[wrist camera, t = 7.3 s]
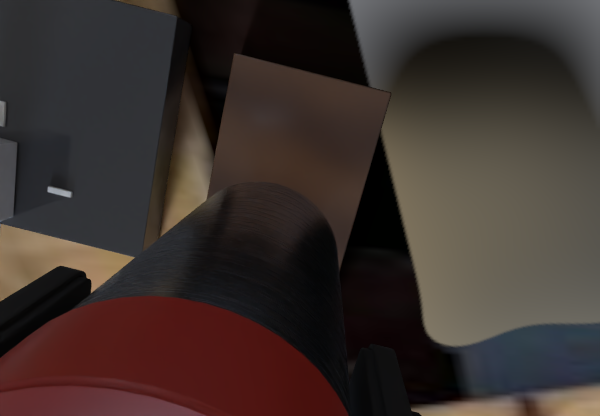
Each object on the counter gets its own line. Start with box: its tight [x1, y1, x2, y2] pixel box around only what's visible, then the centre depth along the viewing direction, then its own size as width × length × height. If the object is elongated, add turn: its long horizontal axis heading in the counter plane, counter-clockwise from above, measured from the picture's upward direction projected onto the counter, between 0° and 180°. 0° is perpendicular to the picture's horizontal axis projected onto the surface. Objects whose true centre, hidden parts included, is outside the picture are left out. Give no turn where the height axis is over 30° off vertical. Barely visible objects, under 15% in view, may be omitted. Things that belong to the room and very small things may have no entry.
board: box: [207, 53, 391, 271], centre depth 25 cm, size 16×9×2 cm, turn 167°
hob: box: [0, 0, 192, 257], centre depth 24 cm, size 15×13×3 cm
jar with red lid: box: [0, 181, 352, 416], centre depth 11 cm, size 7×7×12 cm
